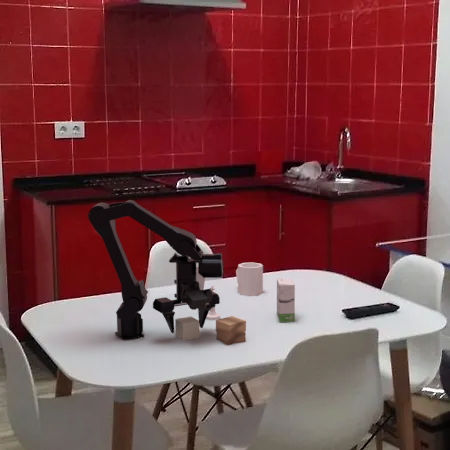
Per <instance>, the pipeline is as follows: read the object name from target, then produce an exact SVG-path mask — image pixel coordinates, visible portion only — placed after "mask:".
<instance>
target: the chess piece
mask: <svg viewBox="0 0 450 450" xmlns="http://www.w3.org/2000/svg"><path fill="white" fill-rule="evenodd" d="M209 289H211V291H212V292H214V293H217V292H216V288H214V286H213V285H211V286H210V287H209ZM215 307H216V306H215ZM215 307H213V308H212V309H211V310H210V311H209V312H208V315H207V317H206V320H209V321H210V320H212V321H216V320H218V319H221V314H219V313H217V312H216V309H215Z"/></svg>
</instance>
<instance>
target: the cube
mask: <svg viewBox="0 0 450 450" xmlns="http://www.w3.org/2000/svg"><path fill="white" fill-rule="evenodd" d="M174 332H175V336H176V337H177V338H179V339H180V340H182V341H188V340H192V339H197V338H200V326H199V319H196V318H195V317H193V316H185V317H180V318H174Z"/></svg>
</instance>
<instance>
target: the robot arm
mask: <svg viewBox="0 0 450 450" xmlns="http://www.w3.org/2000/svg"><path fill="white" fill-rule="evenodd" d="M125 217H129V218H131V219H133V221H135V222H137V223H139V224H140V225H141V226H143V227H145V228H146V229H148V230H149V231H152V232H153V233H154V234H156V235H158V236H159V237H160V238H162V239H163V240H164V241H165V242H166V243H167V244H168V245H169V247H171V248H172V250H174V251H175V253H173V255H172V256H171V257H170V258H169V260H168V262H169V263H172V264H175V272H176V273H175V275H176V276H175V277H176V279H174V281H173V283H174V284H175V285H176V293H173V294H174V298H175V299H170V298H169V297H159V298H154V300H153V301H152V309H154V310H155V311H157V312H159V313H161V314H162V316H163V318H164V320H165V321H166V324H167V326H168V329H169V330H170V333H171V334H174V333H175V318H174V317H175V314H176V312H175V311H174V310H175V307H179V306H180V307H181V306H188V308H189V309H191V310H192V311H195V310H198V311H197V312H198V321H199V329H204V325H205V322H206V320H207V319H206V317H207V315H208V313H209V312H210V310H211V309H212V308H213V307H216V305H219V304H220V303H221V301H220V296H219V294H218V293H217V292H216V293H214V292H215V291H214V292H212V291H211V289H210V288H207V289H203V290H200V288H199V282H198V281H197V279H196V267H198V273H199V274H200V276H202V277H203V278H205V279H209V278H212V279H222V278H223V274H224V273H223V272H224V271H223V270H224V267H223V266H224V263H223V257H222V256H223V255H222V253H221V252H220V253H204V251H203V250H202V248H201V247H200V246H199V244H198V241H197V237H196V236H195V234H193V233H192V232H190V231H187V230H185V229H182V228H179V227H176V226H173V225H171V224H170V223H168V222H166V221H165V220H163V219H162V218H160V217H159V216H157V215H155V214H154V213H152V212H151V211H149V210H147V208H144V207H143V206H141V205H140V204H138V203H137V202H136V201H135V200H133V199H128V200H126V201H121V202H113V203H109V204H108V203H106V202H99V203H96V204H95V205H93V206H92V207H91V208H90V209H89V211H88V213H87V219H88V221H89V223H90V225H91V226H92V229H93V230H94V231H95V232H96V233H97V234H98V235H99V236H100V238H101V240H102V242H103V244H104V246H105V250H106V251H107V255H108V257H109V259H110V261H111V264H112V266H113V268H114V271H115V273H116V276H117V278H118V281H119V283H120V293H121V297H122V298H121V299H122V302H121V304H120V305H119V307H118V308H117V310H116V311H115V314H116V331H115V332H114V334H115V335H116V337H118V338H120V339H122V340H123V341H124V340H130V339H136V338H143V337H144V336H145V334H144V321H143V318H142V314H141V313H140V312H141V311H142V310H143V308H144V306H145V305H146V302H147V300H148V293H149V290H147V289H146V287H145V282H144V279H141V280H137V279H136V277H135V275H134V272H133V271H132V268H131V266H130V264H129V260H128V257H127V255H126V253H125V251H124V249H123V245H122V243H121V240H120V239H119V236H118V234H117V230H116V220H117V219H121V218H125ZM197 264H198V266H197Z"/></svg>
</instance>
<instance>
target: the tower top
mask: <svg viewBox="0 0 450 450" xmlns="http://www.w3.org/2000/svg"><path fill="white" fill-rule="evenodd" d="M216 331H219V332H221V333H224V334H227V335H229V336H230V335H234V334H237V333H241V332H247V320H245V319H241V318H239V317H235V316H233V315H231V316H227V317H226V316H225V317H223V318H220V319H216V320H215V332H216Z"/></svg>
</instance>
